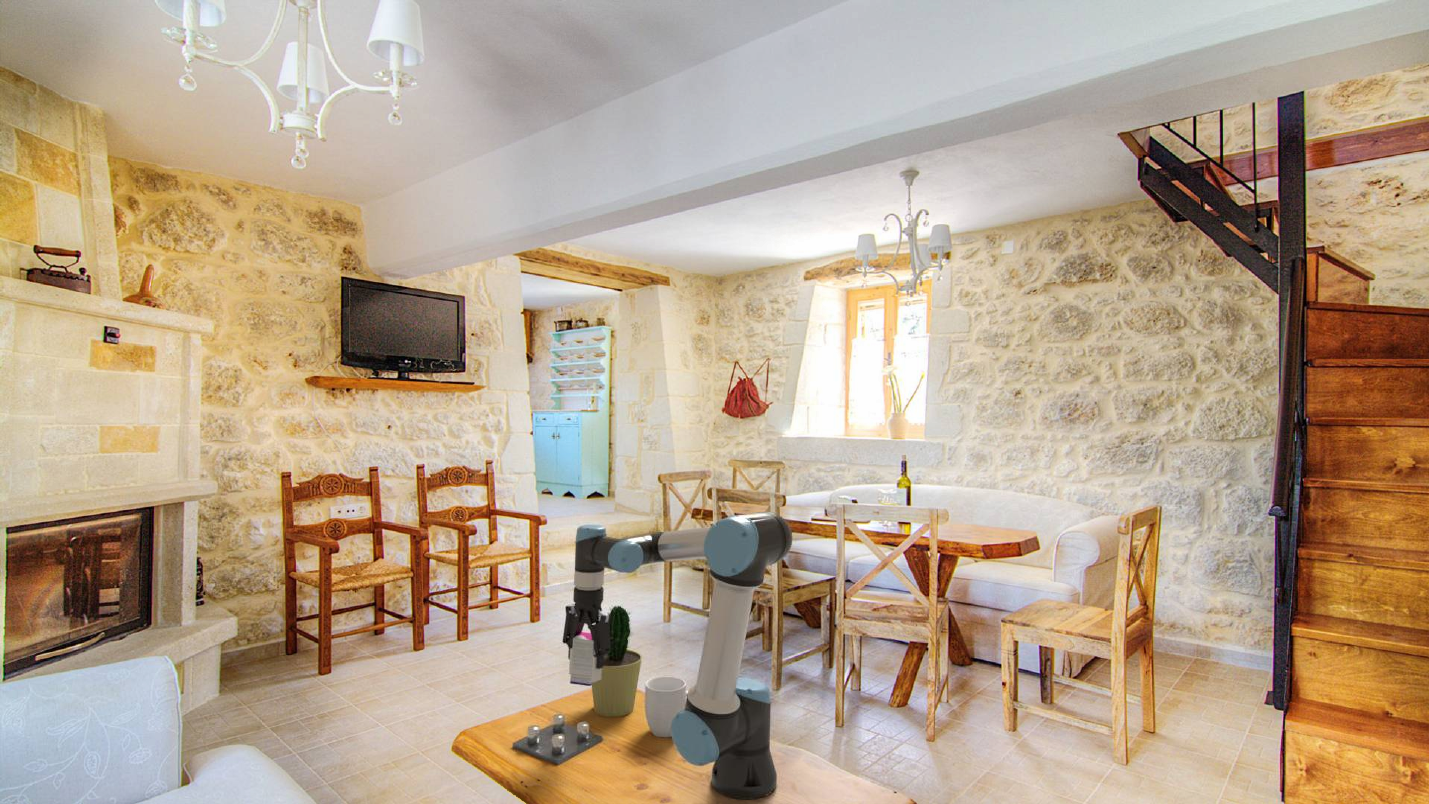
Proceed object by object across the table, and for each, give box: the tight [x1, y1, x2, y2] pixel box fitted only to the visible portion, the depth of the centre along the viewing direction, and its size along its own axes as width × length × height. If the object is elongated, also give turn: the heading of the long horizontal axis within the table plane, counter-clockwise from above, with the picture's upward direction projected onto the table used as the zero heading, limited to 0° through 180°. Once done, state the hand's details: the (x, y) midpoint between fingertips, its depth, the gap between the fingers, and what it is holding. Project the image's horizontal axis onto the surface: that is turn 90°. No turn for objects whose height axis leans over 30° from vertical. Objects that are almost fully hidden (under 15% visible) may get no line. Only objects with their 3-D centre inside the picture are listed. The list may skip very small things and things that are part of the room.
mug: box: [644, 675, 689, 739], centre depth 189 cm, size 15×11×13 cm
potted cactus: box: [591, 604, 643, 718], centre depth 203 cm, size 15×15×30 cm
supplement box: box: [569, 631, 595, 687], centre depth 179 cm, size 6×6×12 cm
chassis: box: [512, 713, 604, 766], centre depth 181 cm, size 16×16×4 cm
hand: (585, 676), depth 179 cm, fingers closed on supplement box, 7 cm apart
